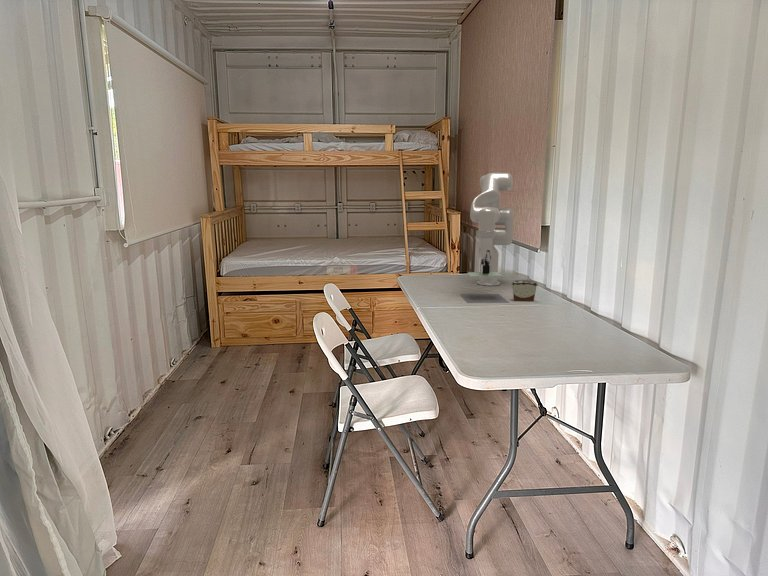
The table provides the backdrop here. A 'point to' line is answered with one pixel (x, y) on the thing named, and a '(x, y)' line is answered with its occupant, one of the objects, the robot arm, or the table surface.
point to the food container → (524, 290)
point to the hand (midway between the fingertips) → (484, 272)
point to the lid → (481, 275)
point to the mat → (484, 298)
